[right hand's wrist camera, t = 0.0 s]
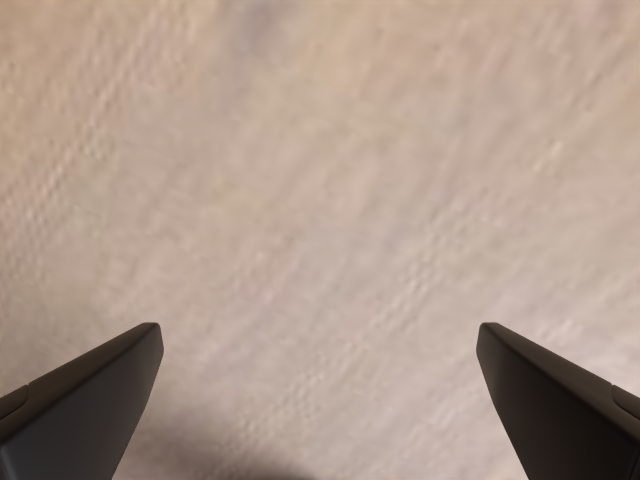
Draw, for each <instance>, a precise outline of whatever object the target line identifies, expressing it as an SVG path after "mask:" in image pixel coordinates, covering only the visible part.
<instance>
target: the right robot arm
mask: <svg viewBox="0 0 640 480" xmlns="http://www.w3.org/2000/svg"><path fill="white" fill-rule="evenodd" d="M163 352H164V347H163V341H162V335H161V328H160V325H159V324H158V323H142V324H140V325H138V326H136V327H134V328H132V329H130V330H128V331H127V332H125V333H123V334H121V335H119V336H117V337H115V338H113V339H111V340H110V341H108V342H106V343H104V344H102V345H100V346H98V347H96V348H94V349H93V350H91V351H89V352H87V353H85V354H83V355H81V356H79V357H77V358H75V359H74V360H72V361H70V362H68V363H66V364H64V365H62V366H60V367H58V368H57V369H55V370H53V371H51V372H49V373H47V374H45V375H43V376H41V377H40V378H38V379H36V380H34V381H32V382H30V383H29V384H28V385H24V386H22V387H20V388H19V389H17V390H15V391H13V392H11V393H9V394H7V395H5V396H3V397H1V398H0V480H111V479H112V477H113V475H114V473H115V471H116V468H117V466H118V464H119V462H120V460H121V458H122V456H123V454H124V451H125V449H126V447H127V445H128V443H129V441H130V439H131V437H132V434H133V432H134V430H135V428H136V426H137V424H138V422H139V419H140V417H141V415H142V413H143V411H144V409H145V406H146V404H147V401H148V399H149V396H150V393H151V390H152V387H153V384H154V381H155V378H156V375H157V372H158V369H159V366H160V363H161V360H162V357H163ZM476 352H477V357H478V360H479V363H480V366H481V369H482V372H483V375H484V378H485V381H486V384H487V387H488V390H489V393H490V396H491V399H492V401H493V404H494V406H495V409H496V411H497V413H498V415H499V417H500V419H501V422H502V424H503V426H504V428H505V430H506V432H507V434H508V437H509V439H510V441H511V443H512V445H513V447H514V449H515V451H516V454H517V456H518V458H519V460H520V462H521V464H522V466H523V468H524V471H525V473H526V475H527V477H528V479H529V480H640V398H639V397H637V396H635V395H633V394H631V393H629V392H627V391H625V390H623V389H621V388H620V387H618V386H616V385H612V384H611V383H610V382H608V381H606V380H604V379H602V378H601V377H599V376H597V375H595V374H593V373H591V372H589V371H587V370H585V369H583V368H582V367H580V366H578V365H576V364H574V363H572V362H570V361H568V360H566V359H565V358H563V357H561V356H559V355H557V354H555V353H553V352H551V351H549V350H547V349H546V348H544V347H542V346H540V345H538V344H536V343H534V342H532V341H530V340H529V339H527V338H525V337H523V336H521V335H519V334H517V333H515V332H513V331H512V330H510V329H508V328H506V327H504V326H502V325H500V324H498V323H482V324H481V325H480V328H479V335H478V341H477V347H476Z"/></svg>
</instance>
